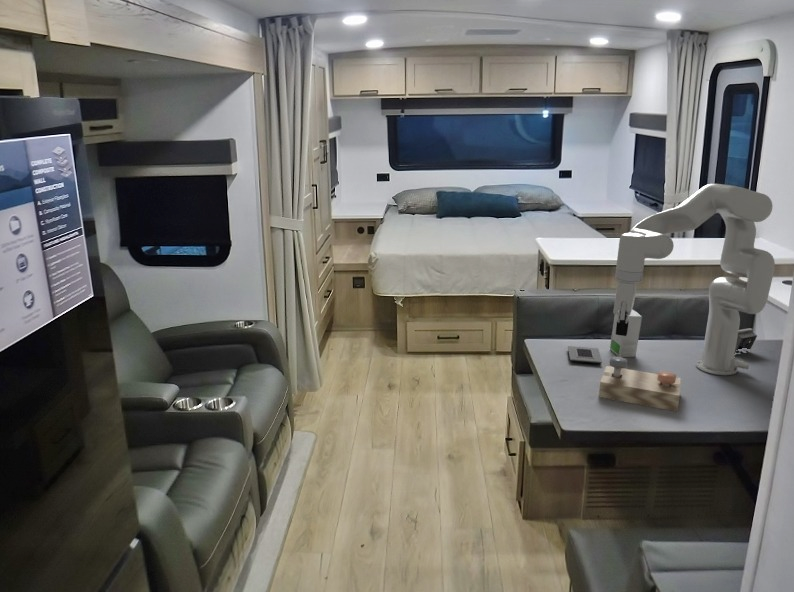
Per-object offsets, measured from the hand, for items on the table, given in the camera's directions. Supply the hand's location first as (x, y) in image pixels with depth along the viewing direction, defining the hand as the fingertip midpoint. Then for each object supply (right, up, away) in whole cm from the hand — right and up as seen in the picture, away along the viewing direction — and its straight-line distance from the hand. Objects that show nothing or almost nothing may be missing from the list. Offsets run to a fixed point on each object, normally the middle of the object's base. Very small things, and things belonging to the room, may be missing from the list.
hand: (621, 334), depth 193 cm
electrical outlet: (-2, -11, +32) cm, 33 cm away
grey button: (0, -14, +4) cm, 15 cm away
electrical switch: (+56, -9, +38) cm, 68 cm away
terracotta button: (+13, -18, -1) cm, 22 cm away
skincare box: (+13, -9, +37) cm, 40 cm away
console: (+6, -19, +3) cm, 20 cm away
